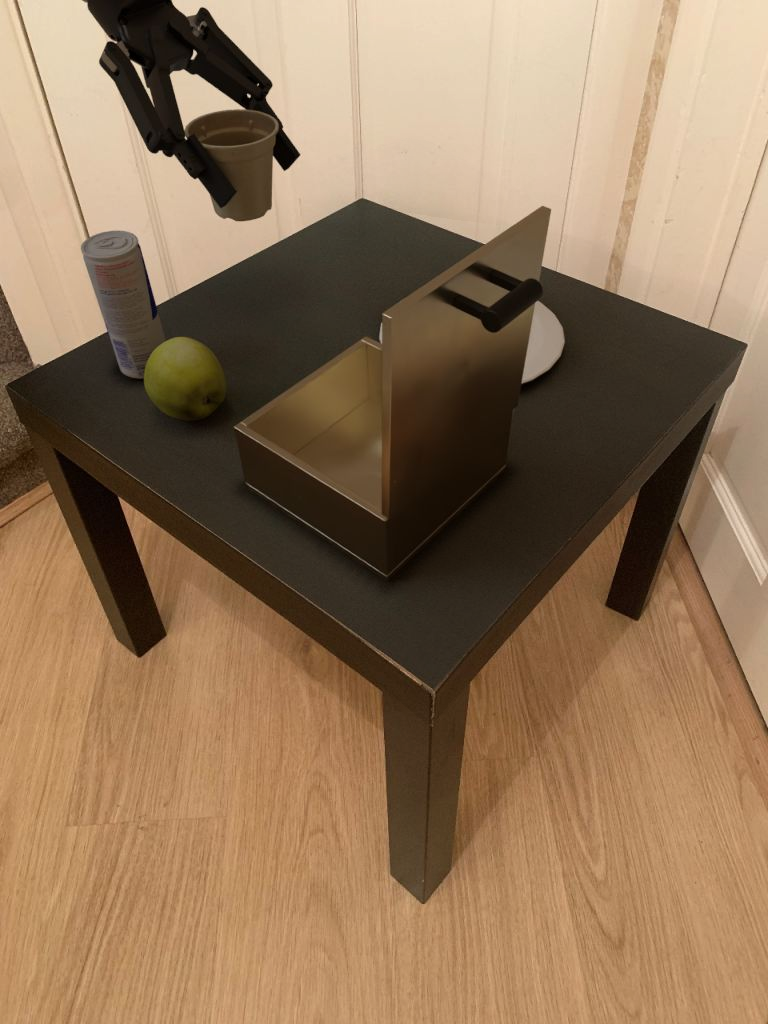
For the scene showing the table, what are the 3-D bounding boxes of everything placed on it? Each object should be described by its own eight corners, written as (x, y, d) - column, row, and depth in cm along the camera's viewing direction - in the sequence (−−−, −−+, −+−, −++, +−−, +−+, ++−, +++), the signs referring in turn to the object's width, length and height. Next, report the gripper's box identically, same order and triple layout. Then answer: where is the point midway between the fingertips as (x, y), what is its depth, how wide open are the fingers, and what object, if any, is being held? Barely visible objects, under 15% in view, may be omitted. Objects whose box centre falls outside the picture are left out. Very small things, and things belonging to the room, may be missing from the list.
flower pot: (305, 207, 86) (297, 125, 80) (238, 239, 81) (224, 154, 75) (249, 182, 91) (238, 101, 84) (182, 211, 86) (165, 128, 80)
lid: (381, 313, 48) (441, 343, 46) (542, 205, 57) (598, 226, 55) (381, 514, 62) (427, 544, 60) (510, 402, 70) (554, 425, 68)
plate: (454, 275, 100) (454, 262, 99) (598, 336, 91) (600, 323, 90) (341, 350, 90) (340, 338, 89) (490, 428, 80) (491, 416, 79)
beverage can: (181, 364, 89) (149, 240, 78) (140, 388, 86) (100, 263, 75) (152, 345, 92) (117, 222, 81) (110, 367, 89) (68, 243, 78)
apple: (198, 374, 88) (183, 312, 82) (247, 412, 83) (235, 349, 77) (137, 406, 84) (117, 343, 78) (185, 448, 79) (167, 384, 74)
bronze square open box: (246, 488, 75) (233, 426, 70) (368, 397, 84) (365, 335, 79) (387, 582, 67) (385, 520, 62) (505, 470, 76) (513, 408, 71)
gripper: (181, -19, 86) (309, 162, 91) (13, 38, 73) (172, 243, 79) (208, -73, 80) (344, 123, 85) (30, -22, 67) (202, 204, 73)
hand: (261, 180), depth 82 cm, fingers closed on flower pot, 9 cm apart
